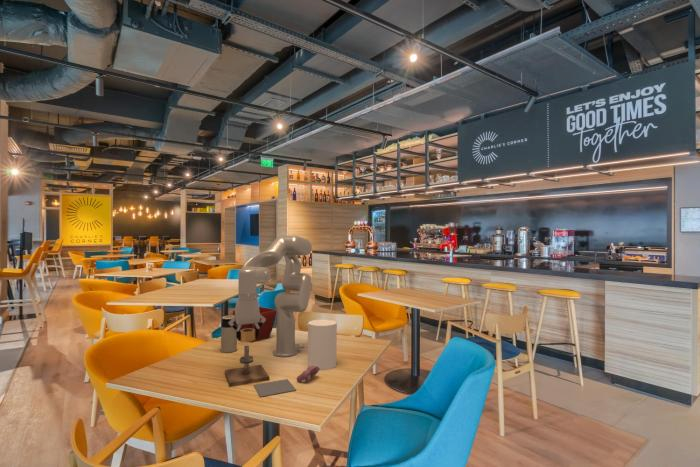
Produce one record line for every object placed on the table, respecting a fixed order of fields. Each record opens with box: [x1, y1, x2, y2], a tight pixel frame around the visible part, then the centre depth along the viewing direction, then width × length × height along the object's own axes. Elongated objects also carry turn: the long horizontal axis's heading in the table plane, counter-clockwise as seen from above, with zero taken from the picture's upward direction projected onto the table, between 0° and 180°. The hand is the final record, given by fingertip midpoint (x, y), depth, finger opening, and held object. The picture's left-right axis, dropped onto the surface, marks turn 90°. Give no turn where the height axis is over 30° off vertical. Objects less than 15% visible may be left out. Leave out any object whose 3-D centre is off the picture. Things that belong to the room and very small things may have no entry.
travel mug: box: [220, 315, 238, 354], centre depth 189 cm, size 8×8×18 cm
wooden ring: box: [239, 328, 256, 343], centre depth 154 cm, size 6×6×4 cm
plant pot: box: [232, 306, 277, 343], centre depth 213 cm, size 19×19×17 cm
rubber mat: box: [253, 378, 297, 398], centre depth 141 cm, size 14×12×1 cm
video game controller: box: [296, 365, 320, 383], centre depth 150 cm, size 10×5×7 cm, turn 149°
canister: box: [307, 318, 338, 371], centre depth 168 cm, size 14×14×20 cm
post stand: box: [224, 345, 270, 388], centre depth 153 cm, size 16×16×13 cm
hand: (247, 338), depth 154 cm, fingers closed on wooden ring, 6 cm apart
